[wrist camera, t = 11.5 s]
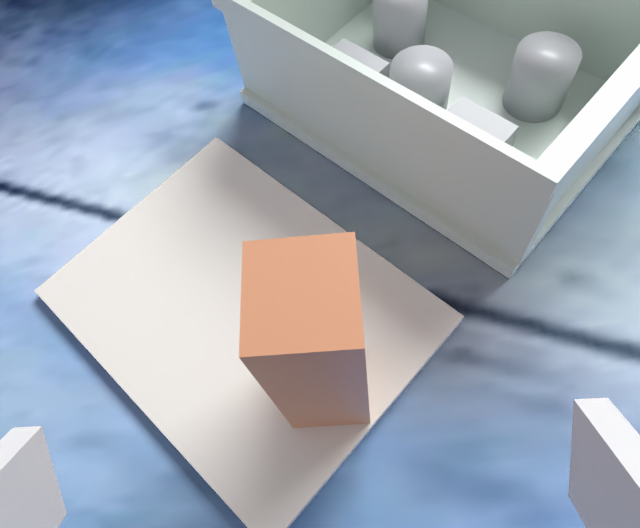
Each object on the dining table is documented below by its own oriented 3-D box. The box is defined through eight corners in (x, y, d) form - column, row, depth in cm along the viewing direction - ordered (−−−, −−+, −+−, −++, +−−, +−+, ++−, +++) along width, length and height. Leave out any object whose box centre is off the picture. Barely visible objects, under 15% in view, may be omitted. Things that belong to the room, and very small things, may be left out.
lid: (461, 323, 23) (511, 189, 14) (271, 549, 19) (185, 557, 11) (220, 146, 29) (151, -24, 20) (43, 297, 25) (-131, 172, 17)
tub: (656, 99, 27) (740, -33, 20) (509, 278, 23) (557, 183, 17) (391, -23, 33) (394, -153, 27) (243, 102, 29) (206, -14, 23)
